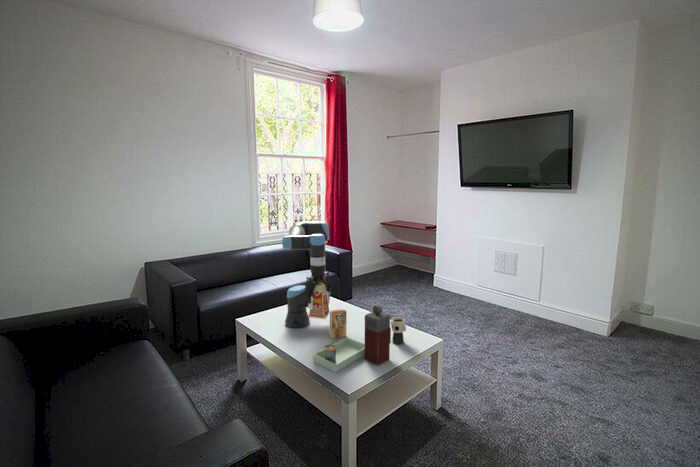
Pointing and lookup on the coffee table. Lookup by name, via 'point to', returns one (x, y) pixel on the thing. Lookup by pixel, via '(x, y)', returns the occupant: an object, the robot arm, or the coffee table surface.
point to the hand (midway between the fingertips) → (318, 305)
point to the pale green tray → (341, 355)
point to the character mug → (398, 329)
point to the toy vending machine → (377, 336)
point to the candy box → (337, 323)
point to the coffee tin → (330, 353)
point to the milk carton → (319, 302)
